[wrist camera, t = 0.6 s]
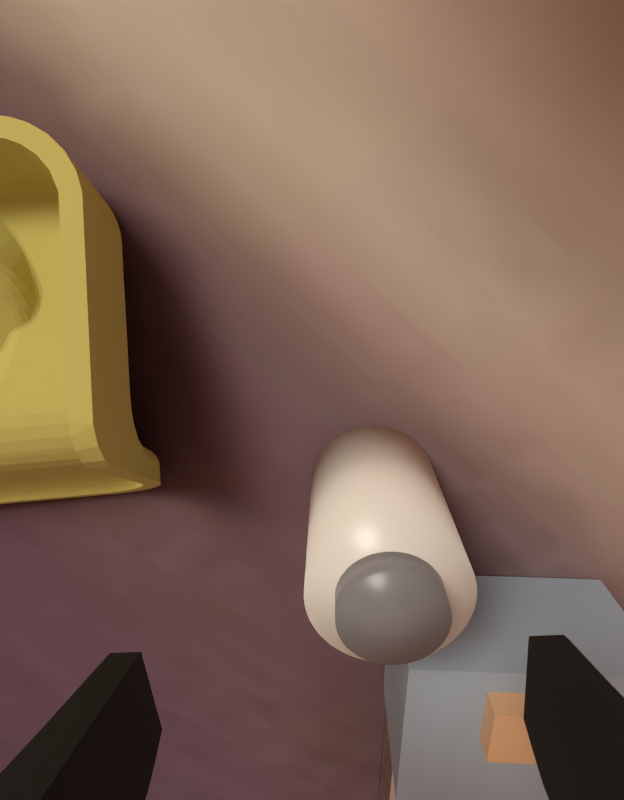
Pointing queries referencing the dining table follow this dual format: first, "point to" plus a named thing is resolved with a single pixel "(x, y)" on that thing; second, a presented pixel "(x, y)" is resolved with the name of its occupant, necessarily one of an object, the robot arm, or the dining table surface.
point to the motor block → (491, 689)
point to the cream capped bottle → (384, 551)
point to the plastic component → (62, 332)
